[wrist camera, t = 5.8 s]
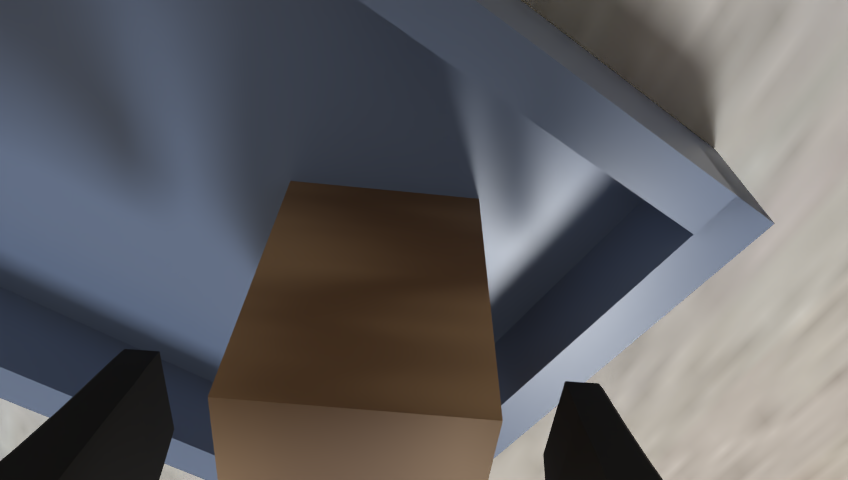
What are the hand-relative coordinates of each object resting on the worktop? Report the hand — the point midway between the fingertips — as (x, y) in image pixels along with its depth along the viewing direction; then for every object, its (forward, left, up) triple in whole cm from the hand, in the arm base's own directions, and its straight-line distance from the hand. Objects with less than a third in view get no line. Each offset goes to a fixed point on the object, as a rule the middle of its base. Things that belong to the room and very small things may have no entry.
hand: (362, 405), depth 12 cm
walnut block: (0, 0, -4) cm, 4 cm away
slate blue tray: (+4, 0, -5) cm, 6 cm away
